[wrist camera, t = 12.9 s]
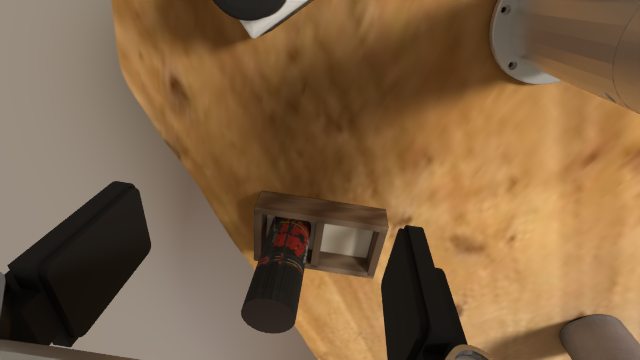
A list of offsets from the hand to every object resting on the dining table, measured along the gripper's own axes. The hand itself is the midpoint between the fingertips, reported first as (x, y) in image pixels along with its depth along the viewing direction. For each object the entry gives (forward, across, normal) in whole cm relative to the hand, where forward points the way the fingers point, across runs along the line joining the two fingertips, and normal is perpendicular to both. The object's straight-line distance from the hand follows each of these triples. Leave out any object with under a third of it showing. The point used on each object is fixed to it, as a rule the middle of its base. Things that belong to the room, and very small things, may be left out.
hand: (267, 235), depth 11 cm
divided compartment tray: (+28, -2, +23) cm, 37 cm away
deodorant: (+27, +2, +23) cm, 36 cm away
